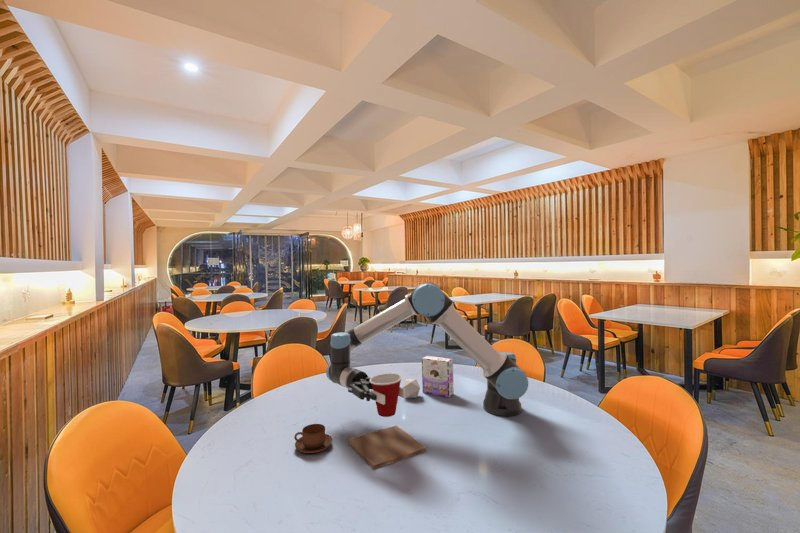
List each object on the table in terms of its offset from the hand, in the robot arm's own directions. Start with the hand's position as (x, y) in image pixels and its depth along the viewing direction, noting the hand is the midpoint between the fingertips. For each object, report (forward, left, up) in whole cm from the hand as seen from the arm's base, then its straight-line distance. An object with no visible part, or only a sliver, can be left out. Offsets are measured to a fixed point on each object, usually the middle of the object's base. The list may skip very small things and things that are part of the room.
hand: (394, 396), depth 112 cm
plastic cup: (+1, -5, -7) cm, 9 cm away
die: (-30, -38, -18) cm, 52 cm away
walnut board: (+1, -5, -18) cm, 18 cm away
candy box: (-43, -35, -18) cm, 58 cm away
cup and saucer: (+21, -17, -18) cm, 33 cm away
